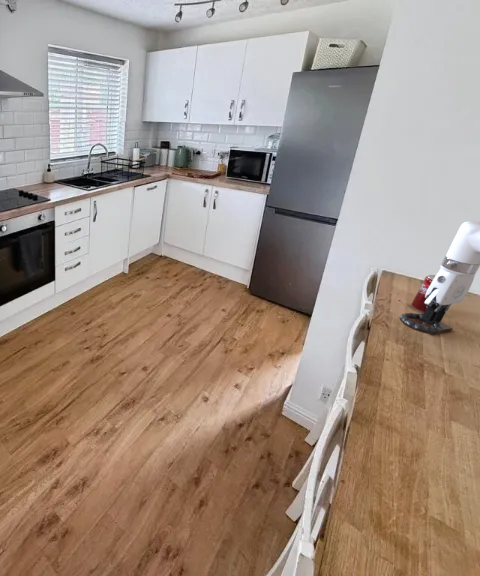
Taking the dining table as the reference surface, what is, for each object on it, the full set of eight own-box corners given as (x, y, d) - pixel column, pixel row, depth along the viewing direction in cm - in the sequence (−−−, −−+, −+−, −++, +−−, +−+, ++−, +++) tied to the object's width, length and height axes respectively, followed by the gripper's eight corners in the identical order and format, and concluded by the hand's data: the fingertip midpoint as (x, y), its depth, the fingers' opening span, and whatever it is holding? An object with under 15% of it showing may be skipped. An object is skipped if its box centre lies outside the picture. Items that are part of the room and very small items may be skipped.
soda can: (411, 309, 130) (427, 279, 124) (410, 301, 135) (425, 272, 129) (437, 317, 126) (455, 286, 120) (435, 308, 131) (452, 278, 126)
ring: (449, 332, 108) (452, 327, 108) (424, 336, 106) (427, 331, 105) (415, 315, 117) (417, 310, 116) (391, 318, 114) (393, 313, 114)
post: (451, 331, 118) (474, 292, 112) (431, 334, 116) (454, 295, 109) (422, 316, 126) (442, 279, 119) (403, 319, 124) (422, 281, 117)
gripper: (455, 273, 98) (424, 331, 107) (494, 268, 103) (462, 324, 111) (425, 262, 105) (399, 317, 113) (464, 258, 109) (435, 311, 117)
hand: (430, 320), depth 112 cm, fingers closed on ring, 2 cm apart
